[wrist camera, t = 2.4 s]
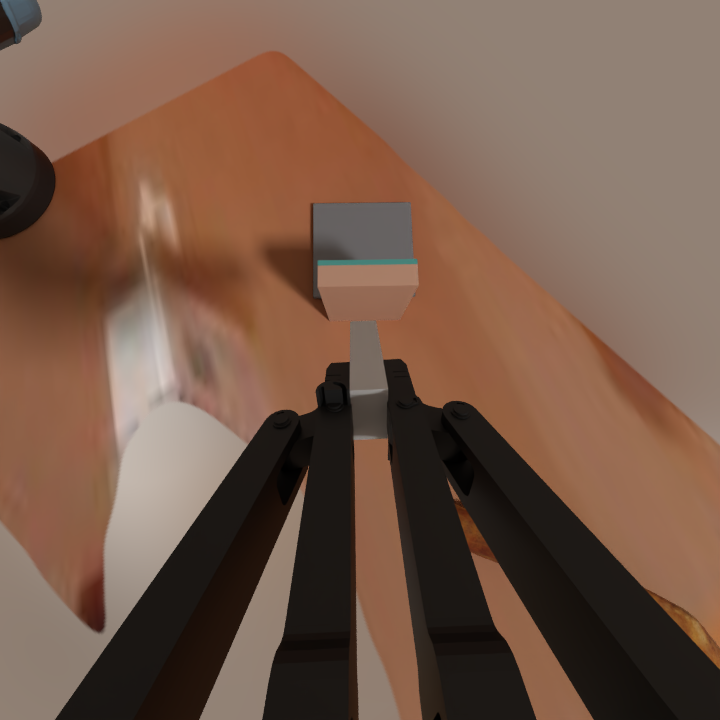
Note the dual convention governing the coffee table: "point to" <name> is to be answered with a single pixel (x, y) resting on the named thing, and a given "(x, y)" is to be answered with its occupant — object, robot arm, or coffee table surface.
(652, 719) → the robot arm
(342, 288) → the tile
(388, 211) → the pad
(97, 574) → the coffee table surface
